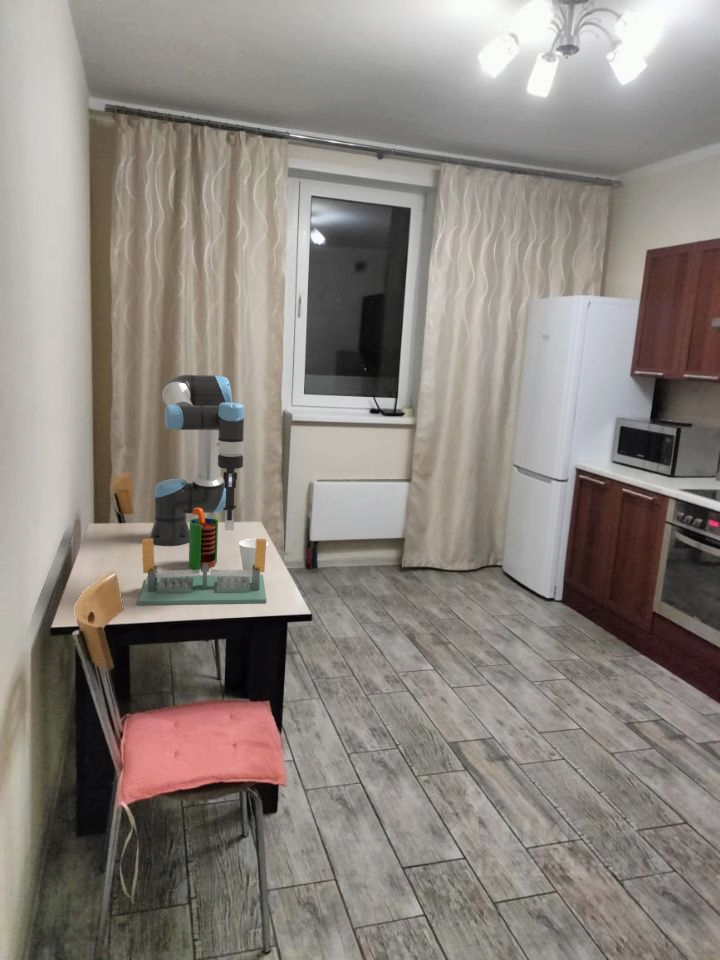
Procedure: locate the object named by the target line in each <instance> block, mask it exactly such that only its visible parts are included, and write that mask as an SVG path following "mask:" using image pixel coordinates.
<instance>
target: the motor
mask: <svg viewBox="0 0 720 960" xmlns="http://www.w3.org/2000/svg"><path fill="white" fill-rule="evenodd" d="M192 515H194V516H195V515H196V516H198V517H197V518H192V519H190V520H189V530H190V533H189V542H188V543H189V544H188V545H189V546H188V567H189V568H191V569H192V570H200V571H201V566H203V563H207V566H209V569H212V568H211V567H213V568H215V567H216V564H217V562H218V539H219V538H218V535H219V534H218V532H219V528H218V527H219V520H218V519H216V518H211V517H205V513H204V512H203V509H202V508H194V509H193V513H192Z"/></svg>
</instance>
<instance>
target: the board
mask: <svg viewBox="0 0 720 960" xmlns="http://www.w3.org/2000/svg"><path fill="white" fill-rule="evenodd" d="M217 577H222V576H210V574H207V589H203V574H201V575H200V574H199V576H189V578H193V588H192V593H161V594H158V586H159V583H160V579H161V578H164V577H157V586H155V592H148V575H147V576H146V578H145V582H144V584H143V587H142V591H141V594H140V596H139V598H138V606H157V605H158V606H159V605H161V606H162V605H163V606H164V605H165V606H166V605H168V606H169V605H208V604H209V605H220V604H221V605H223V604H224V605H225V604H226V605H230V604H267V596H266V595H267V593H266V587H265V580H264V574H261V575H260V582H259V590H253V585H252V577H249V584H250V592H235V593H217ZM224 577H229V576H224ZM231 577H236V576H231ZM238 577H243V576H238ZM245 577H246V576H245ZM167 578H172V577H167ZM175 578H179V577H175ZM182 578H186V576H183V577H182Z"/></svg>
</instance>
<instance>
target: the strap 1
mask: <svg viewBox="0 0 720 960" xmlns="http://www.w3.org/2000/svg"><path fill="white" fill-rule="evenodd" d="M154 545H155V544H154V542H153V539H150V538H142V541H141V547H142V550H141V551H142V553H141V554H142V573H143V574H148V571H151V570H155V568H154V565H155V553H154V552H155V549H154V548H155V546H154ZM200 572H201V569H200V570H196V569H180V570H177V569H176V570H157V571H155V578H157V577H183V576H199V575H200V574H201V573H200Z"/></svg>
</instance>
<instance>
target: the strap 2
mask: <svg viewBox="0 0 720 960" xmlns="http://www.w3.org/2000/svg"><path fill="white" fill-rule="evenodd" d="M255 539H256V551H255V567H254V570H260V572H262V573H265V568H266V555H267V550H266V541H267V539H266V538H255ZM265 554H266V555H265ZM209 575H210V576H246V577H253V570H243V569H213V568H210V574H209Z"/></svg>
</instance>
